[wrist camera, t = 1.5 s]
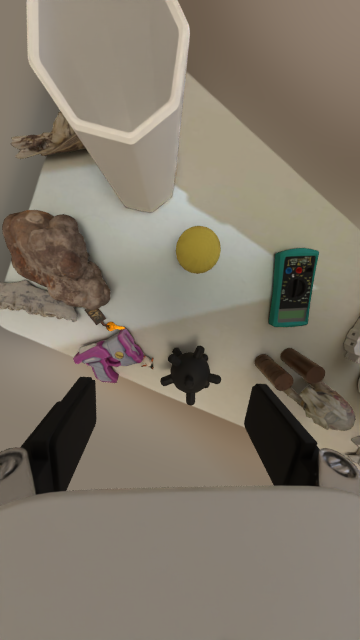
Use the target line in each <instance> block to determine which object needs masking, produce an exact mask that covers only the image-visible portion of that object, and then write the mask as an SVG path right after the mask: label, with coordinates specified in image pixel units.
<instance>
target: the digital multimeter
mask: <svg viewBox="0 0 360 640" xmlns="http://www.w3.org/2000/svg"><path fill="white" fill-rule="evenodd" d="M318 255H319V252H318V251H316V250H312V249H307V248H296V249H290V250H285V251H281V252H278V253H276V254H275V269H274V284H273V294H272V303H271V310H270V316H269V324H270V325H272V326H274V327H295V326H303V325H307V324H308V318H309V309H310V301H311V294H312V288H313V282H314V276H315V270H316V265H317V260H318Z"/></svg>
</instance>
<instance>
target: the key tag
mask: <svg viewBox="0 0 360 640" xmlns="http://www.w3.org/2000/svg"><path fill="white" fill-rule="evenodd" d="M85 311H86V312H87V314H88V315H89V316H90V318H91V319H92V320H93V321H94V322H95V324H96V325H97V324H99V323H100V322H101V324H102V325H103V326H106V328H107V330H108V331H113V330H114V329H115V330H116V329H126V328H125V327H122V326H121V327H120V326H117V325H115V324H114V323H113V322H108V323H107V325H106V324H104V323H103V322H102V321H103V320H105V319H106V318H105V316H104V315H103V314H102V312H101V311H100V310H99V309H96V310H89V309H85ZM109 326H110V327H109Z"/></svg>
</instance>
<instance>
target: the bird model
mask: <svg viewBox="0 0 360 640" xmlns="http://www.w3.org/2000/svg"><path fill="white" fill-rule="evenodd" d="M53 125H54V126H53V129H52V131H51V132H50V133H43V134H41V135H28V136H18V137H17V136H16V137H12V138H11V139H12V140H13V142H12V143H11V145H12V146H13V147H15V148H17V149H19V150H20V151H19V153H18V154H17V155H16V158H20V159H23V158H28V157H31V156H34V155H37V154H41V155H42V156H47V155H51V154H55V153H62V152H70V151H75V150H79V149H85V146H84V145H83V143H82V142H81V140H80V139H79V137H78V136H77V134H76V133H75V132H74V130H73V129H72V127H71V126H70V124H69V123H68V121H67V120H66V118H65V117H64V115H63V114H62V112H61V111H60V112H58V117H57V118H56V120H55V122H54V124H53Z"/></svg>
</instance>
